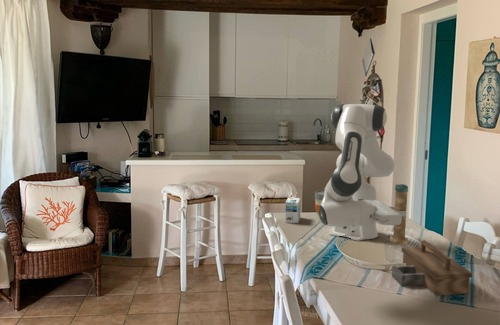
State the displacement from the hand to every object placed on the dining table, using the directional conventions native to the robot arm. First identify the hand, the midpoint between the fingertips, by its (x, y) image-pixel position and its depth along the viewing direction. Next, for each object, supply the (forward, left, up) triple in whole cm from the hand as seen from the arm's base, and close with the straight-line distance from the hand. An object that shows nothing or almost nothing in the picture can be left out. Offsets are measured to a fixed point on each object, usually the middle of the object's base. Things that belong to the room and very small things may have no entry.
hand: (402, 211), depth 176 cm
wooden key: (-1, -1, -11) cm, 12 cm away
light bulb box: (-63, +54, -27) cm, 87 cm away
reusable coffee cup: (-47, +60, -26) cm, 81 cm away
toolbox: (+8, +5, -26) cm, 28 cm away
